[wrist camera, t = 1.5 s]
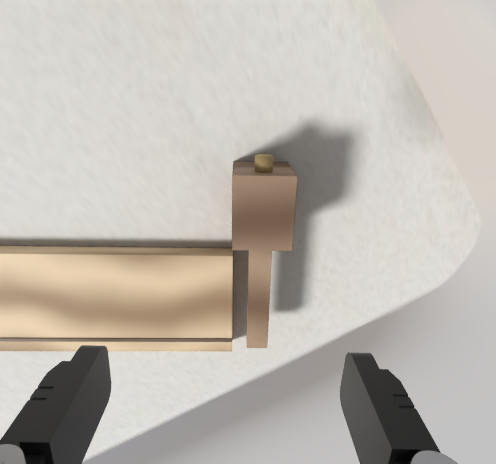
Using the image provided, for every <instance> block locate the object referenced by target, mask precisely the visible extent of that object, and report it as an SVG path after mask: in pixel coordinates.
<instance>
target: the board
mask: <svg viewBox="0 0 496 464" xmlns="http://www.w3.org/2000/svg"><path fill="white" fill-rule="evenodd" d="M232 306H233V250H232V248H162V247H64V246H0V351H77V350H78V349H79V347H80V346H82V345H93V346H106V347H107V350H108V351H232Z"/></svg>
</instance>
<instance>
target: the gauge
mask: <svg viewBox="0 0 496 464" xmlns="http://www.w3.org/2000/svg"><path fill="white" fill-rule="evenodd" d="M297 177H298V176H297V175H296V174H295V172H294V171H293V169H292V168H291V167H290V165H289V164H288V162H273V155H269V154H257V155H255V162H250V161H234V162H233V175H232V250H249V260H248V301H247V348H267V341H268V321H269V300H270V280H271V260H272V251H292V247H293V233H294V219H295V205H296V191H297Z"/></svg>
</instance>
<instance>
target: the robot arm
mask: <svg viewBox="0 0 496 464" xmlns="http://www.w3.org/2000/svg"><path fill="white" fill-rule="evenodd" d="M110 392H111V377H110V368H109V359H108V350H107V347H106V346H93V345H82V346H80V347H79V349H78V350H77V352H76V353H75V355H74V357H73V358H72V360H71V361H62V362H60V363H59V364H58V365H57V366H55V367H54V368H53V369H52V370H50V371H49V372H48V373H47V374H46V376H45V377H44V378H43V380H42V381H41V383H40V384H39V386H38V389H36V390H35V391H34V393H33V394H32V396H31V397H30V400H28V401H27V403H26V404H25V406H24V407H23V409H22V410H21V411H20V413H19V414H18V416H17V417H16V419H15V420H14V421H13V423H12V424H11V426H10V427H9V429H8V430H7V431H6V433H5V434H4V436H3V437H2V439H1V440H0V464H82V461H83V459H84V457H85V454H86V452H87V450H88V447H89V445H90V443H91V440H92V438H93V436H94V433H95V431H96V429H97V426H98V424H99V422H100V420H101V417H102V415H103V413H104V410H105V408H106V406H107V403H108V400H109V397H110ZM340 400H341V406H342V409H343V413H344V416H345V419H346V422H347V425H348V428H349V431H350V434H351V437H352V440H353V443H354V446H355V449H356V452H357V455H358V458H359V462H360V464H457V463H456V462H455V461H454V460H452V459H451V458H449V457H448V456H446V455H444V454H441V453H440V451H439V449H438V447H437V445H436V444H435V442H434V440H433V438H432V437H431V435H430V433H429V431H428V429H427V428H426V426H425V424H424V422H423V421H422V419H421V417H420V415H419V413H418V412H417V410H416V409H415V408H414V405H413V403H412V401H411V399H410V398H409V397H408V394H407V392H406V390H405V389H404V387H403V385H402V383H401V381H400V380H398V379H397V378H396V377H395V376H394V375H393V374H392V373H391V372H390V371H389V370H386V369H385V370H383V369H379V367H378V365H377V363H376V361H375V359H374V358H373V356H372V354H371V353H347V355H346V358H345V364H344V370H343V375H342V381H341V387H340Z"/></svg>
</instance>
